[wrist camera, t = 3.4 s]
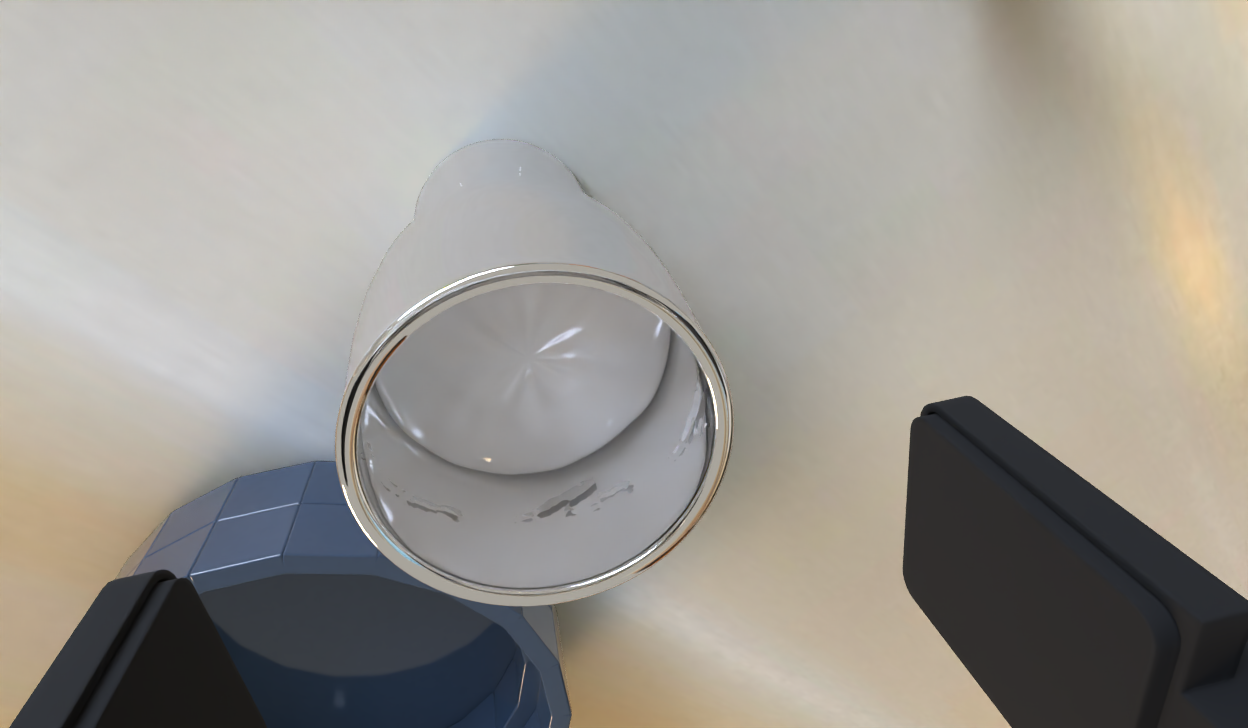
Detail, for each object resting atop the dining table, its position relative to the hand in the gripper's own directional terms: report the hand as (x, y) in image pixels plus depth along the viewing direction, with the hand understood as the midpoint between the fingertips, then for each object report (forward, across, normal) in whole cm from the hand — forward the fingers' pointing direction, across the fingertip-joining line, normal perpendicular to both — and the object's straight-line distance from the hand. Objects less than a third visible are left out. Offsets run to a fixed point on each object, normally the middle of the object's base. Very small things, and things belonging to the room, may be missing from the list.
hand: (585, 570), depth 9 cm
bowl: (+18, +10, +16) cm, 26 cm away
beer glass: (+18, 0, 0) cm, 18 cm away
